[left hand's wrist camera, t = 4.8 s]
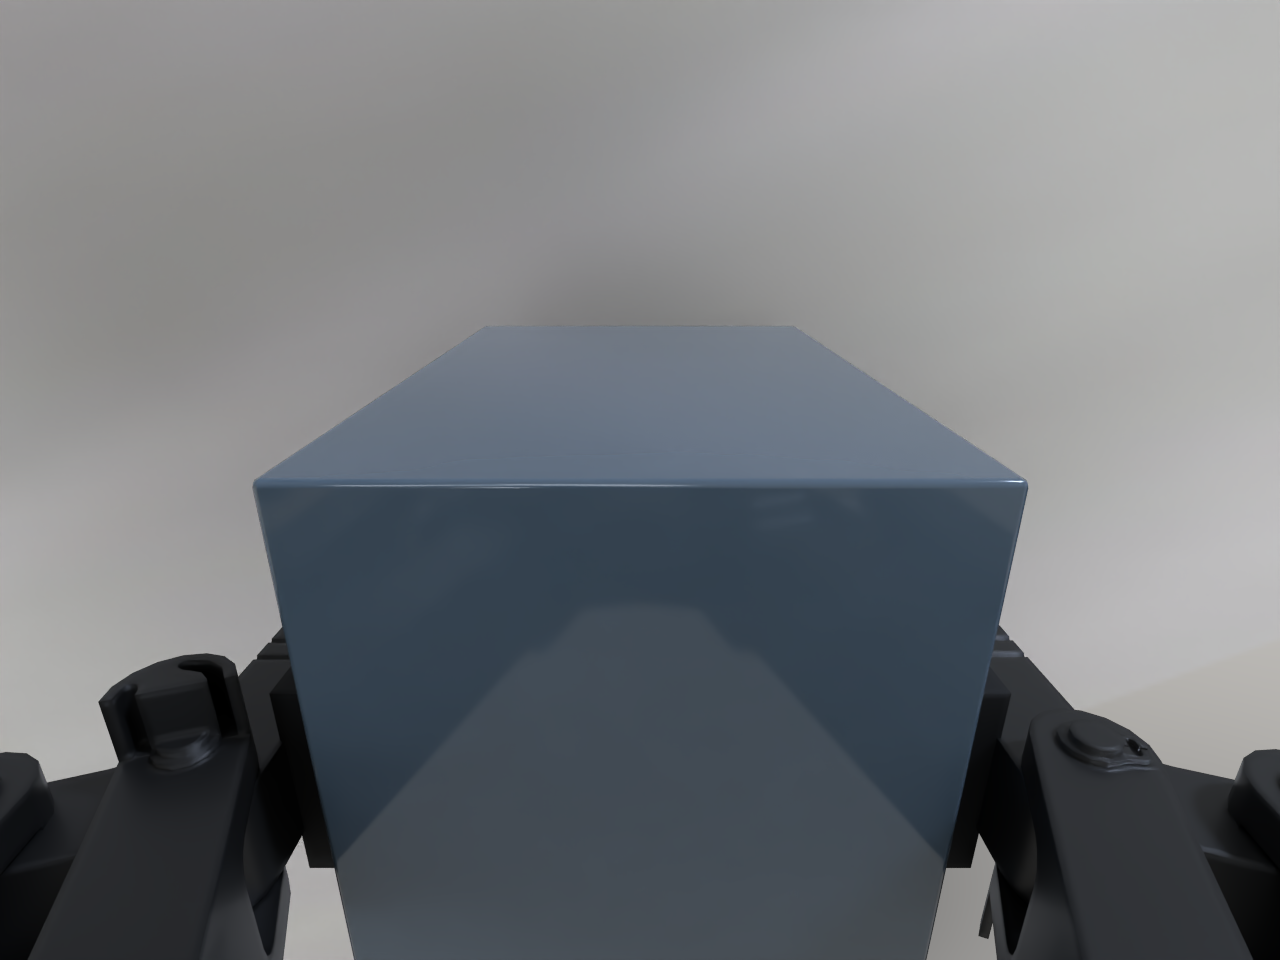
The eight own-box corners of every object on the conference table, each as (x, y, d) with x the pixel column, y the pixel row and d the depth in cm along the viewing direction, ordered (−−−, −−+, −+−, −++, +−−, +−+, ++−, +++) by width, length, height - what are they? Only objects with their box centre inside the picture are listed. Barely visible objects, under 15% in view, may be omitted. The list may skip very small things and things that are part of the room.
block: (509, 646, 18) (377, 1077, 9) (483, 325, 15) (246, 480, 6) (770, 646, 18) (903, 1078, 9) (796, 325, 15) (1034, 481, 6)
